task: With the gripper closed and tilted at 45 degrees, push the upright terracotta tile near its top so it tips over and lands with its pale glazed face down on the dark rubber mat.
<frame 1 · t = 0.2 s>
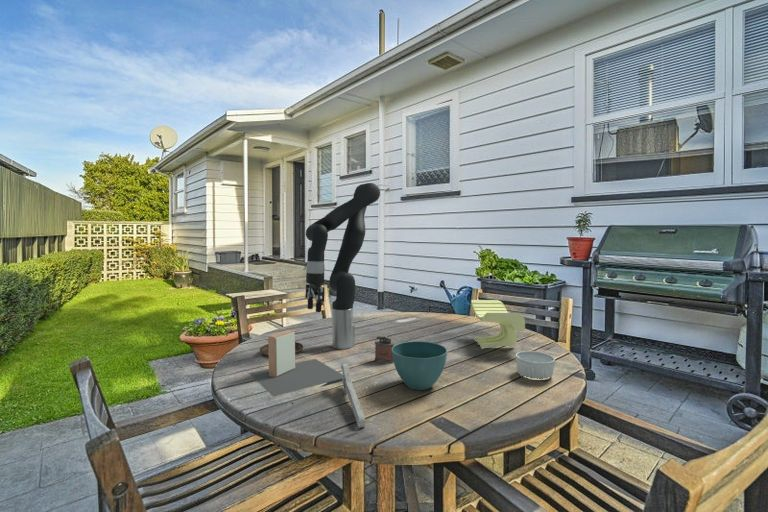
hand: (314, 310, 162), 18 cm above the table, tool pointing down, fingers open, 8 cm apart
lighter: (384, 361, 152), on the table
wrench: (351, 405, 114), on the table
tile: (282, 371, 137), point 1 cm above the table, touching mat
plant pot: (418, 385, 128), on the table
ramekin: (534, 376, 137), on the table
slatted curved stool: (495, 345, 174), on the table
plant saucer: (281, 354, 161), on the table
mat: (297, 377, 134), on the table
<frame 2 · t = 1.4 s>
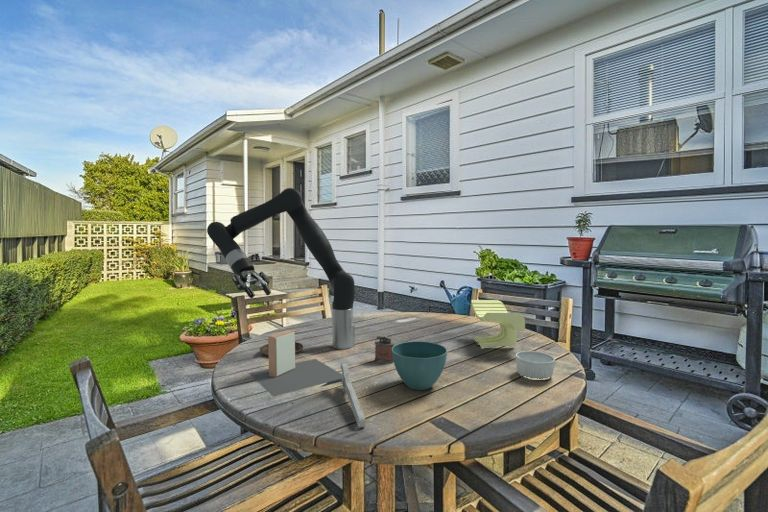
hand: (261, 295, 145), 27 cm above the table, tool tilted 45°, fingers open, 7 cm apart
nothing on the table moved.
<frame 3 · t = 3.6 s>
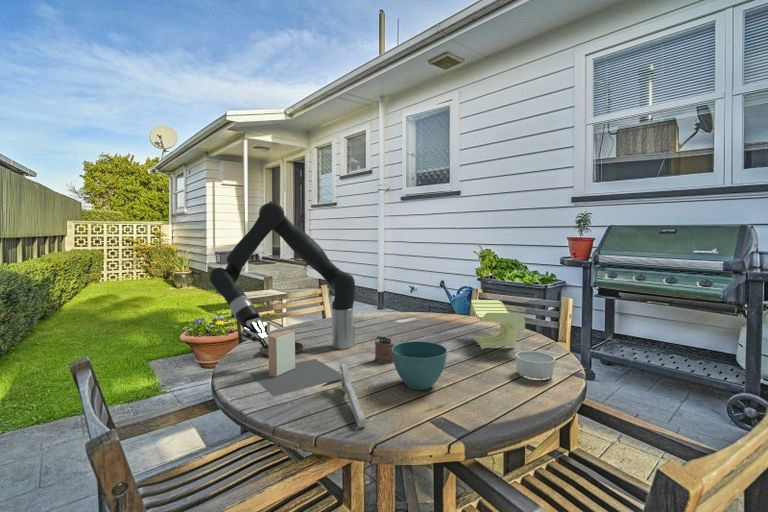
hand: (268, 347, 140), 9 cm above the table, tool tilted 45°, fingers closed
nothing on the table moved.
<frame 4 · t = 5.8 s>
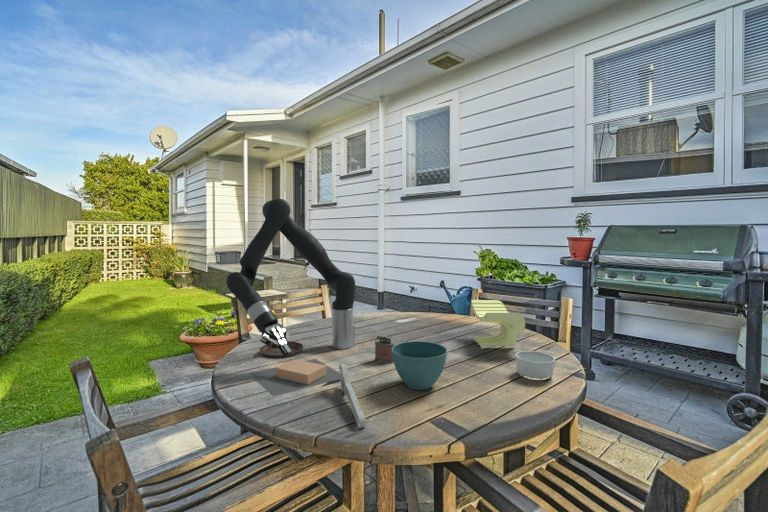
hand: (288, 354, 135), 8 cm above the table, tool tilted 45°, fingers closed
tile: (286, 367, 136), point 3 cm above the table, tilted 90°, touching mat
everything else where it was.
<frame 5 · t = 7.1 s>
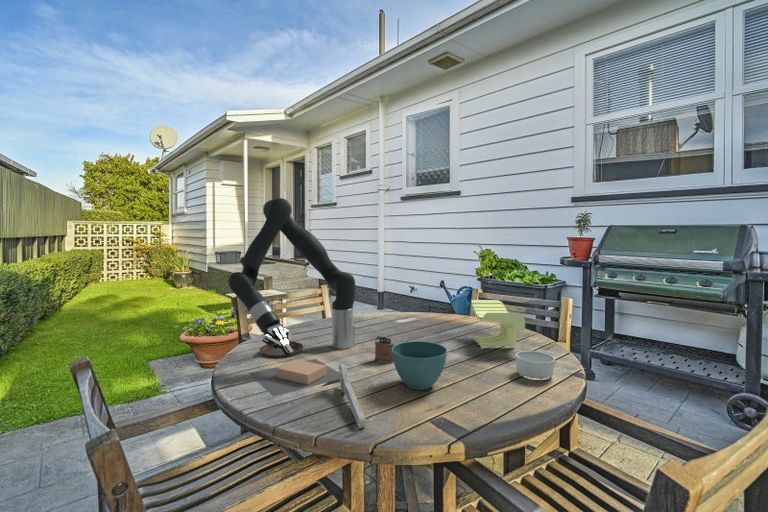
hand: (290, 354, 135), 8 cm above the table, tool tilted 45°, fingers closed
nothing on the table moved.
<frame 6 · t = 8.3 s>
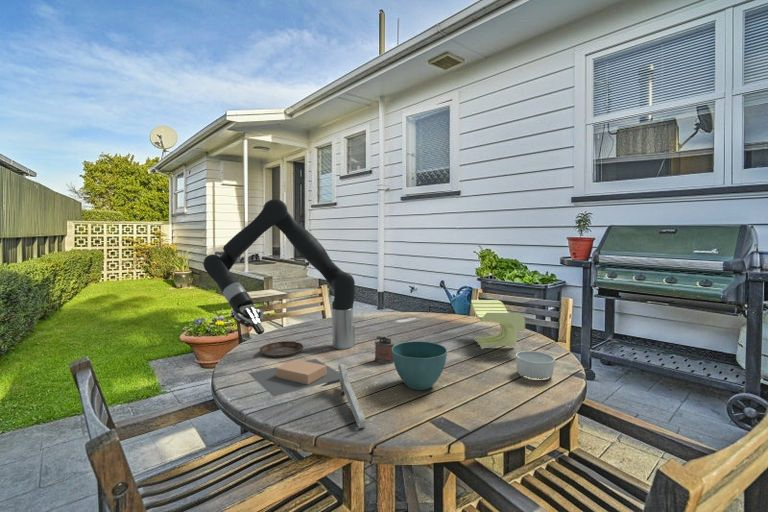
hand: (261, 333, 141), 14 cm above the table, tool tilted 45°, fingers closed
nothing on the table moved.
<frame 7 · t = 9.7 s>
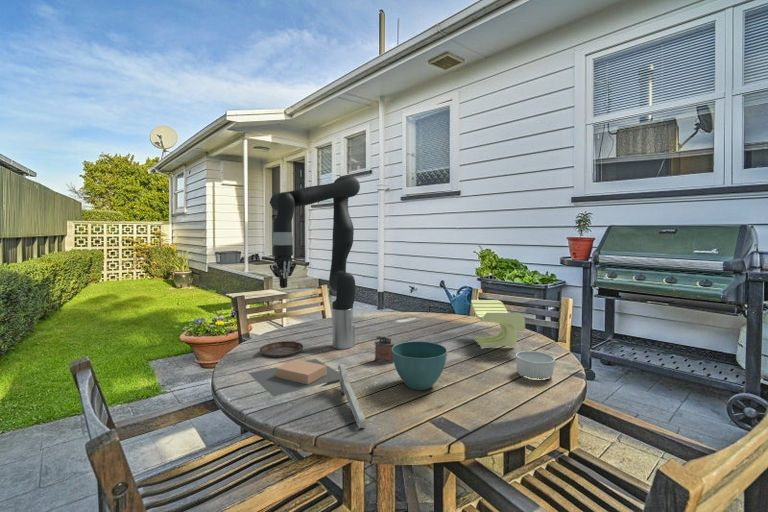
hand: (283, 287, 152), 29 cm above the table, tool pointing down, fingers closed
nothing on the table moved.
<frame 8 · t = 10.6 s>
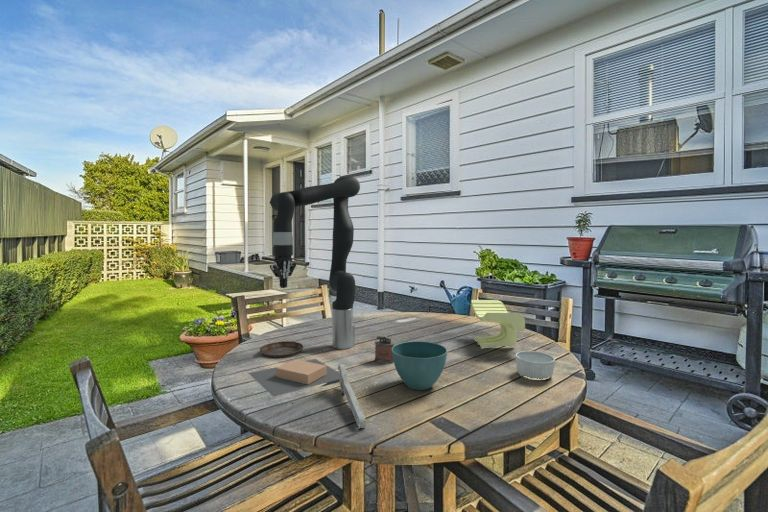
hand: (283, 287, 152), 29 cm above the table, tool pointing down, fingers closed
nothing on the table moved.
at the end: tile tilted 90°; tile inside the target area (1.8 cm from its centre), point 2.9 cm above the table; tile moved 2.6 cm from its start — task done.
